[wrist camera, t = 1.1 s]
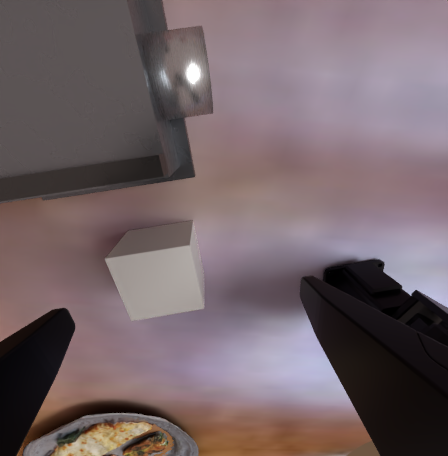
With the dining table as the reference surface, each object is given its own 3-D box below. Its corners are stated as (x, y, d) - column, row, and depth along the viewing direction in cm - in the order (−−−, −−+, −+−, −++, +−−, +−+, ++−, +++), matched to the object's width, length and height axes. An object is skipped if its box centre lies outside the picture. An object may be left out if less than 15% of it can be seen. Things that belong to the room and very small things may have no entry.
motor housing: (218, 171, 18) (228, 192, 11) (51, 197, 17) (-51, 235, 10) (190, -27, 13) (173, -224, 6) (-43, 2, 12) (-354, -170, 5)
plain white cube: (204, 272, 22) (204, 308, 17) (146, 282, 21) (131, 321, 17) (193, 220, 19) (189, 245, 15) (128, 230, 19) (104, 258, 14)
